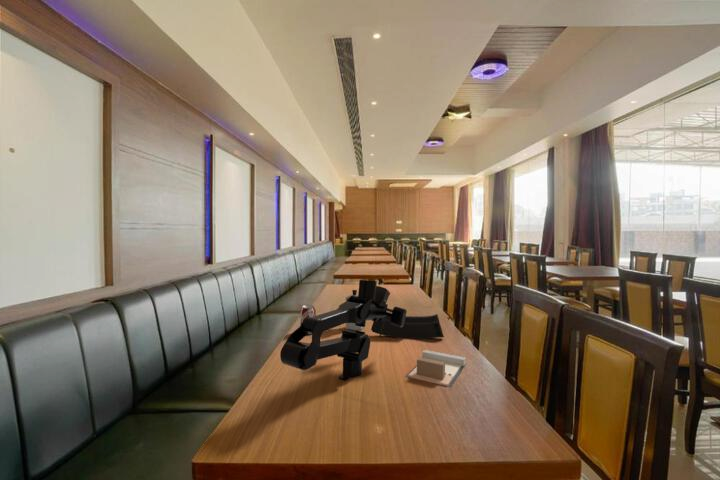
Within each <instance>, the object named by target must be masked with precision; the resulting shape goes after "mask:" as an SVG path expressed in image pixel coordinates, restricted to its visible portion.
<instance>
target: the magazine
mask: <svg viewBox="0 0 720 480" xmlns="http://www.w3.org/2000/svg"><path fill="white" fill-rule="evenodd" d="M390 321H391V316H388V315H386V316H385V317H384V319H383V321H379V320H377V322H375V321H372V325H371V329H370V330H371V332H372V333H375V334H378V335H379V337H381V336H385V337H391V338H398V339H409V340H410V339H411V340H422V339H423V340H424V339H425V340H426V339H436V338H445V335H444V333H443V329H442V325H441V321H440V319H439V316H438V313H436V314H433V315H425V316H423V315H422V316H420V315H417V316H416V315H414V316H411V315H410V316H408V315H406V317H405V322H404V326H403V327H397V326H394V325H391V323H390Z"/></svg>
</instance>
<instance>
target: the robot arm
mask: <svg viewBox="0 0 720 480" xmlns="http://www.w3.org/2000/svg"><path fill="white" fill-rule="evenodd" d="M358 283H359V284H358V291H357V292H358V293H357V295H358V296H351V295H349V296H350V298H349V299H347V301H346V300H345V301H344V302H343V303H341V304H339V305H338V308H336V309H333V310H330V311H327V312H324V313H322V314H318V315H317V314H316V316H314V317H308V318H305V319H304V320H303V322H302V324H301V326H300V325H299V326H298V327H297V328H296V329H295V330H294V331H293V332H292V333H290V334H289V335H288V337H287V339H286V340H285V343H284V344H283V345H282V347H281V350H280V354H279V356H280V361H281V364H283V365H287V366H289V367H292V368H295V369H298V370H302V371H307V370H308V369H310V368H312V367H314V366H316V365H317V363H318V360H322V359H325V358H326V359H327V358H329V357H334V356H337V357H338V358H342V373H341V374H340V375H338V379H340V380H344V381H348V380H349V379H354V378H357V377H360V376H362V373H363V372H362V371H363V361H365V360H367V359H368V357H369V353H370V348H371V340H370V338H369V335H368V334H366V332H365V331H363V330H359V331H357V330H352V329H344V330H343V329H342V331H341V336H340V337H336V338H329V339H325V340H321V336H322V334H323V332H326V331H329V330H331V329H334V328H336V327H339V326H342V325H344V324H346V323H355V325H356V326H361V327H364V328H366V322H367V321H372V322H373V321H375V322H377V320H379V321H383V319H384V317H385V316H386V315H388V316H391V321H390V323H391V325H394V326H397V327H403V326H404V322H405V317H406V316H407V309H406V308H402V307H399V306H394V307H393V308H388V304H387V302H388V301H389V300H388V299H389V297H390V295H391V292H390V291H389V290H388V288H387V287H383V286H380V285H377V284H378V281H377V280H368V279H366V280H365V279H359V281H358ZM308 333H312V334H311V341H310V343H309V342H304V341H303V342H302V341H301V340H303V339H304V338H305V337H307V336H308V335H307V334H308Z"/></svg>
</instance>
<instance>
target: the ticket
mask: <svg viewBox="0 0 720 480" xmlns="http://www.w3.org/2000/svg"><path fill="white" fill-rule="evenodd" d="M416 368H417V367H416ZM460 368H461V365H456V364H451V363H446V362H445V375H449V376H453V378H454V377H455V375H456V374H457V373H459V372H458V371H459V370H460Z"/></svg>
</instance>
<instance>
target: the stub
mask: <svg viewBox="0 0 720 480" xmlns="http://www.w3.org/2000/svg"><path fill="white" fill-rule="evenodd" d="M416 365H417V368H415V369H414V368H413V369H414V370H413V371H412V372H411V371H410V372H411V373H410V372H409V373H410V374H408V377H409V378H410V379H413V378H415V379H414V380H417V379H418V381H421V380H422V382H425V381H426V383H429V382H431V383H430V384H434V383H436V384H435V385H438V384H440V385H439V386H442V385H444V386H443V387H446V386H448V385H449V384H450V382H451V381H452V380H453V376H449V375H445V362H441V361H436V360H431V359H426V358H422V357H421V356H420V357H418V358H417V359H416ZM408 377H407V378H408Z"/></svg>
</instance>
